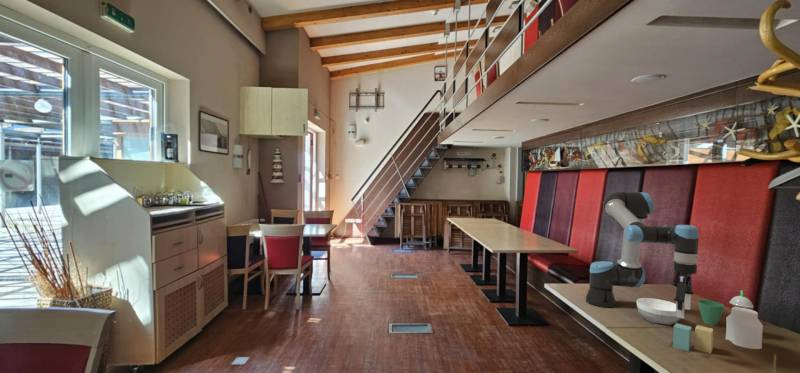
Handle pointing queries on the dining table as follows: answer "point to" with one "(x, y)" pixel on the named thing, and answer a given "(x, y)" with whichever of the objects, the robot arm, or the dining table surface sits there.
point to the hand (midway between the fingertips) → (683, 313)
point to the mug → (710, 311)
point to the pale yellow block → (703, 339)
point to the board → (693, 351)
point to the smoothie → (740, 302)
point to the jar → (744, 328)
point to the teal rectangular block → (682, 337)
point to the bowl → (657, 311)
